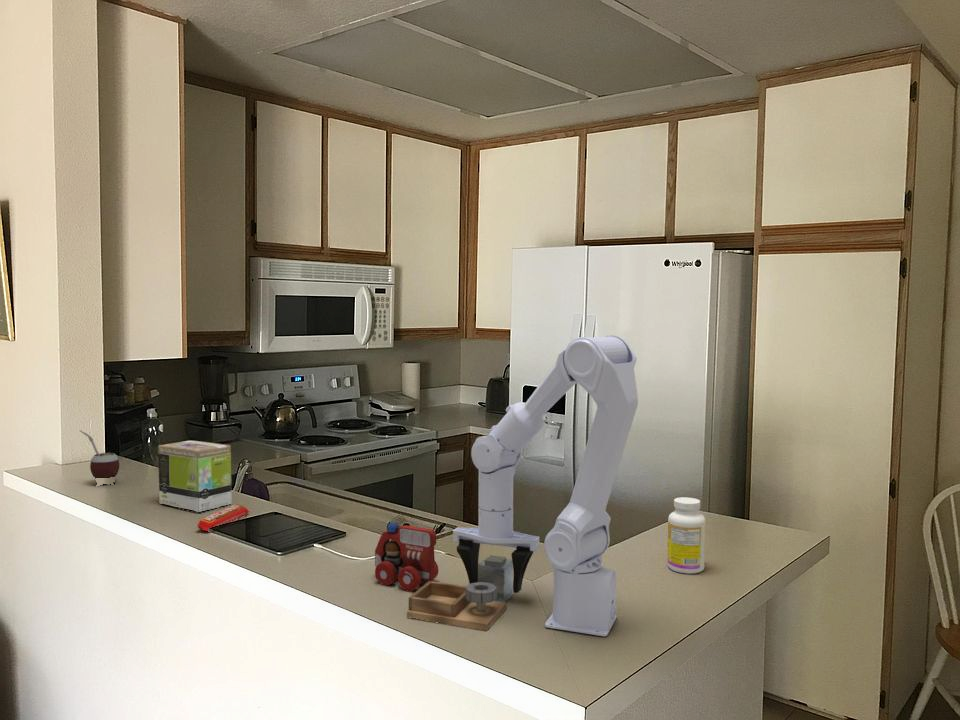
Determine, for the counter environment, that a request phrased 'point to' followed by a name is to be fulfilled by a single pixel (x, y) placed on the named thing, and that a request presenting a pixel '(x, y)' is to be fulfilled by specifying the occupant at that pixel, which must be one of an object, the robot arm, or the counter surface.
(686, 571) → the supplement bottle
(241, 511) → the candy bar
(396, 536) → the toy fire truck
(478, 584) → the wheel
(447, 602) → the board
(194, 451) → the tea box
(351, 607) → the counter surface
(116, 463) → the mate gourd
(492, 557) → the grey block
